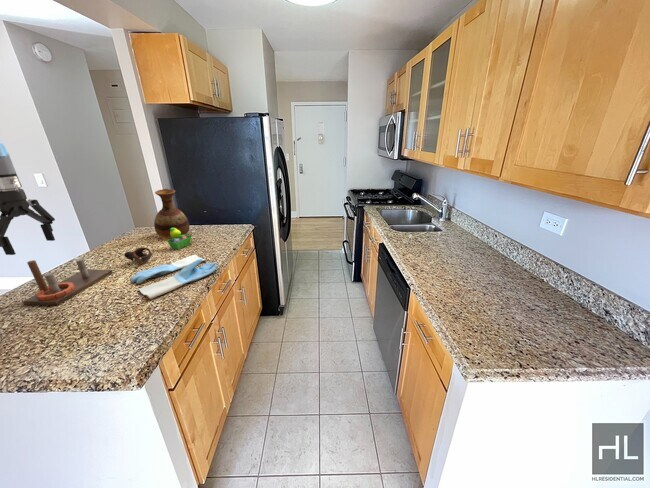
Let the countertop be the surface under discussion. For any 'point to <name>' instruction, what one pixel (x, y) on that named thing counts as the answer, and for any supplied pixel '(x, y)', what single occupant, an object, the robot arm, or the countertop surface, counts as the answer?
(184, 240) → the fruit basket
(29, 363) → the countertop surface
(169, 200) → the brown pottery vase
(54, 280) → the rack
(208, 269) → the rubber gloves
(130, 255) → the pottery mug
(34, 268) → the ring
